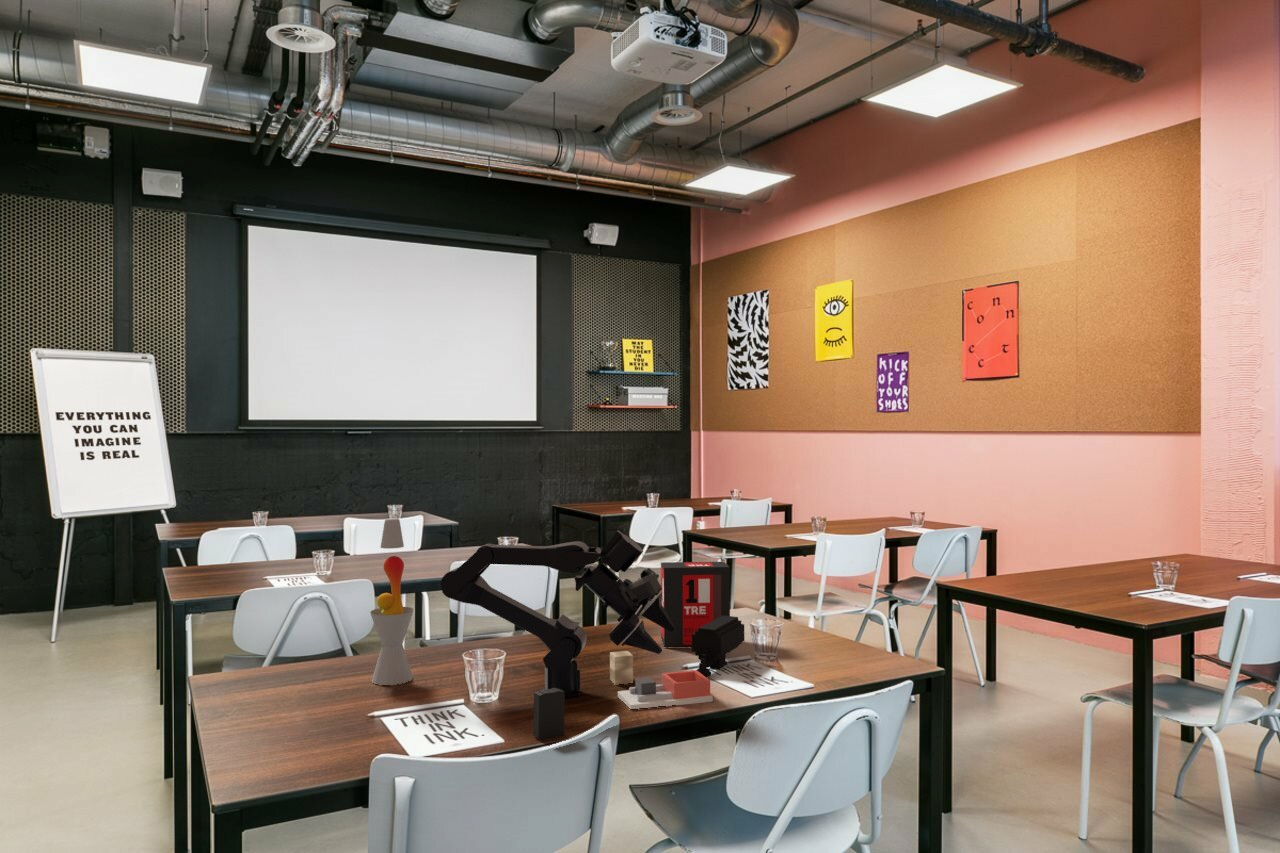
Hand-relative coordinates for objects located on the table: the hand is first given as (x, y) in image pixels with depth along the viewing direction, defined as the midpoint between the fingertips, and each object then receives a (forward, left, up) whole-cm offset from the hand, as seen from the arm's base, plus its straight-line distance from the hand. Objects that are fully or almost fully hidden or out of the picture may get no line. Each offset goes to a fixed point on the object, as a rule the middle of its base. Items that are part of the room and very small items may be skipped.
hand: (667, 640), depth 167 cm
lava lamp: (-53, +29, -11) cm, 62 cm away
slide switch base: (-1, -2, -11) cm, 11 cm away
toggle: (-5, -2, -10) cm, 11 cm away
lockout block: (-6, +12, -11) cm, 18 cm away
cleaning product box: (+21, +38, -11) cm, 45 cm away
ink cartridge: (-27, -15, -11) cm, 33 cm away
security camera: (+18, +16, -11) cm, 27 cm away
